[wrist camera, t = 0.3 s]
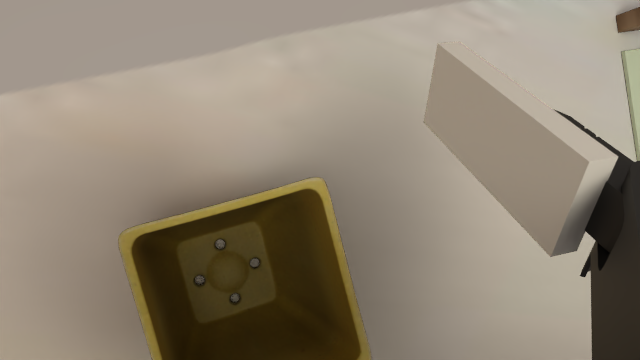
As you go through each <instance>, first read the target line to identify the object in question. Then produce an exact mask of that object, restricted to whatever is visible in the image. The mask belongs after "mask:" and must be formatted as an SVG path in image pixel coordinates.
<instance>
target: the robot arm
mask: <svg viewBox="0 0 640 360" xmlns="http://www.w3.org/2000/svg"><path fill="white" fill-rule="evenodd" d="M424 123H425V124H426V125H427V126H428V128H429V129H430V130H431V131H432V132H433V133H434V134H435V135H436V136H437V137H438V138H439V139H440V140H441V141H442V142H443V143H444V144H445V146H446V147H447V148H448V149H449V150H450V151H451V152H452V153H453V154H454V155H455V156H456V157H457V158H458V159H459V160H460V161H461V162H462V164H463V165H464V166H465V167H466V168H467V169H468V170H469V171H470V172H471V173H472V174H473V175H474V176H475V177H476V178H477V179H478V180H479V182H480V183H481V184H482V185H483V186H484V187H485V188H486V189H487V190H488V191H489V192H490V193H491V194H492V195H493V196H494V197H495V198H496V200H497V201H498V202H499V203H500V204H501V205H502V206H503V207H504V208H505V209H506V210H507V211H508V212H509V213H510V214H511V215H512V217H513V218H514V219H515V220H516V221H517V222H518V223H519V224H520V225H521V226H522V227H523V228H524V229H525V230H526V231H527V232H528V233H529V235H530V236H531V237H532V238H533V239H534V240H535V241H536V242H537V243H538V244H539V245H540V246H541V247H542V248H543V249H544V250H545V251H546V253H547V254H548V255H549V256H550V257H552V256H556V255H561V254H565V253H569V252H574V251H577V249H578V247H579V244H580V242H581V240H582V238H583V235H584V233H585V231H586V232H587V233H588V234H589V235H590V236H591V237H593V238H594V239H595V240H596V241H595V244H594V246H593V248H592V250H591V252H590V254H589V256H588V259H587V261H586V263H585V265H584V267H583V269H582V272H581V275H580V276H582V277H585V276H586V274H587V272H588V271H590V270H591V318H592V360H640V161H637V162H633V161H632V160H630V159H629V158H628V157H626V156H625V155H623V154H622V153H621V152H619V151H618V150H616V149H615V148H614V147H612V146H611V145H609V144H608V143H607V142H605V141H604V140H602V139H601V138H600V137H596V135H595V134H594V133H593V132H591V131H590V130H588V129H585V128H584V126H583V125H581V124H580V123H579V122H577V121H576V120H574V119H573V118H572V117H570V116H568V115H566V114H563V113H561V112H559V111H556V110H554V109H552V108H551V107H549V106H548V105H547V104H545V103H544V102H542V101H541V100H540V99H538V98H537V97H536V96H534V95H533V94H531V93H530V92H529V91H527V90H526V89H525V88H523V87H522V86H520V85H519V84H518V83H516V82H515V81H513V80H512V79H511V78H509V77H508V76H507V75H505V74H504V73H502V72H501V71H500V70H498V69H497V68H496V67H494V66H493V65H491V64H490V63H489V62H487V61H486V60H485V59H483V58H482V57H480V56H479V55H478V54H476V53H475V52H474V51H472V50H471V49H469V48H468V47H467V46H465V45H464V44H463V43H461V42H449V43H438V45H437V50H436V56H435V61H434V67H433V73H432V78H431V84H430V90H429V95H428V101H427V106H426V112H425V118H424Z"/></svg>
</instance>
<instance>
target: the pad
mask: <svg viewBox="0 0 640 360" xmlns="http://www.w3.org/2000/svg"><path fill="white" fill-rule="evenodd" d="M621 53H622V60H623V67H624V74H625V80H626V87H627V94H628V101H629V107H630V114H631V121H632V128H633V134H634V141H635V148H636V155H637V161H640V49H635V50H629V51H623V52H621Z"/></svg>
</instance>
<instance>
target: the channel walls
mask: <svg viewBox="0 0 640 360" xmlns="http://www.w3.org/2000/svg"><path fill="white" fill-rule="evenodd" d="M616 19H617V26H618V33H619V32H626V31H634V30H640V7H639V8H636V9H633V10H630V11H628V12H625V13H622V14H620V15H617V16H616Z"/></svg>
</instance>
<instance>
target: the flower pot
mask: <svg viewBox="0 0 640 360" xmlns="http://www.w3.org/2000/svg"><path fill="white" fill-rule="evenodd" d="M219 239H222V240H224V242H225V247H224V248H223V249H218V248H216V246H215V243H216V241H217V240H219ZM118 243H119V250H120V253H121V257H122V260H123V263H124V267H125V270H126V274H127V277H128V280H129V284H130V287H131V290H132V293H133V296H134V300H135V303H136V306H137V310H138V313H139V316H140V320H141V323H142V326H143V330H144V333H145V336H146V340H147V344H148V347H149V351H150V354H151V357H152V360H371V352H370V347H369V343H368V339H367V337H366V333H365V329H364V325H363V321H362V318H361V314H360V310H359V307H358V303H357V299H356V296H355V292H354V288H353V284H352V280H351V276H350V272H349V269H348V264H347V260H346V256H345V252H344V249H343V245H342V241H341V237H340V233H339V229H338V224H337V221H336V217H335V213H334V210H333V205H332V201H331V197H330V194H329V191H328V188H327V185H326V183H325V181H324V180H323V179H322V178H318V177H313V178H308V179H304V180H301V181H298V182H295V183H292V184H288V185H285V186H281V187H278V188H275V189H271V190H267V191H264V192H260V193H257V194H253V195H250V196H246V197H242V198H239V199H235V200H231V201H227V202H224V203H220V204H216V205H213V206H209V207H205V208H202V209H198V210H194V211H191V212H187V213H183V214H179V215H175V216H171V217H168V218H164V219H160V220H156V221H152V222H148V223H144V224H141V225H137V226H134V227H131V228H128V229H126V230H125V231H123V232H122V233H121V234H120V235H119V239H118ZM253 258H257V259H258V260H259V266H258V267H256V268H253V267H251V266H250V261H251V259H253ZM198 275H202V276H203V277H204V278H205V282H204V283H203V284H202V285H197V284H196V283H195V278H196V276H198ZM234 293H237V294H238V295H239V296H240V299H239V301H238V302H237V303H232V302H231V301H230V296H231V295H232V294H234Z"/></svg>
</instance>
